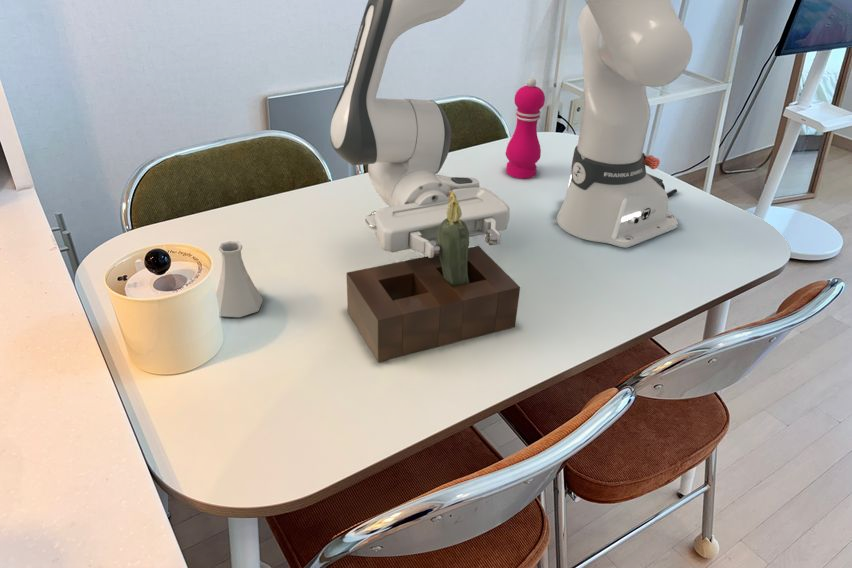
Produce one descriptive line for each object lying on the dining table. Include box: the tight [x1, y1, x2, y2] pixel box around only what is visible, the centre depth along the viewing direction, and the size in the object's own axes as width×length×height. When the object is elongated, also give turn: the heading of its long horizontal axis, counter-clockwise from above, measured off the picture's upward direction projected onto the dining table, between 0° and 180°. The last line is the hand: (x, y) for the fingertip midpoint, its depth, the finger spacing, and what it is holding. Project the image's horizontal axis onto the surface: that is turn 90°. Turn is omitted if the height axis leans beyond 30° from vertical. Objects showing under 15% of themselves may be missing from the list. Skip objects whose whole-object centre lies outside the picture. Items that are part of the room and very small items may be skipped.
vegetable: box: [437, 191, 470, 287], centre depth 97 cm, size 4×4×20 cm
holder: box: [346, 245, 521, 363], centre depth 100 cm, size 21×12×7 cm, turn 114°
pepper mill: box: [505, 77, 546, 180], centre depth 142 cm, size 7×7×20 cm
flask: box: [216, 240, 264, 318], centre depth 100 cm, size 7×7×10 cm
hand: (466, 246), depth 96 cm, fingers open, 8 cm apart
